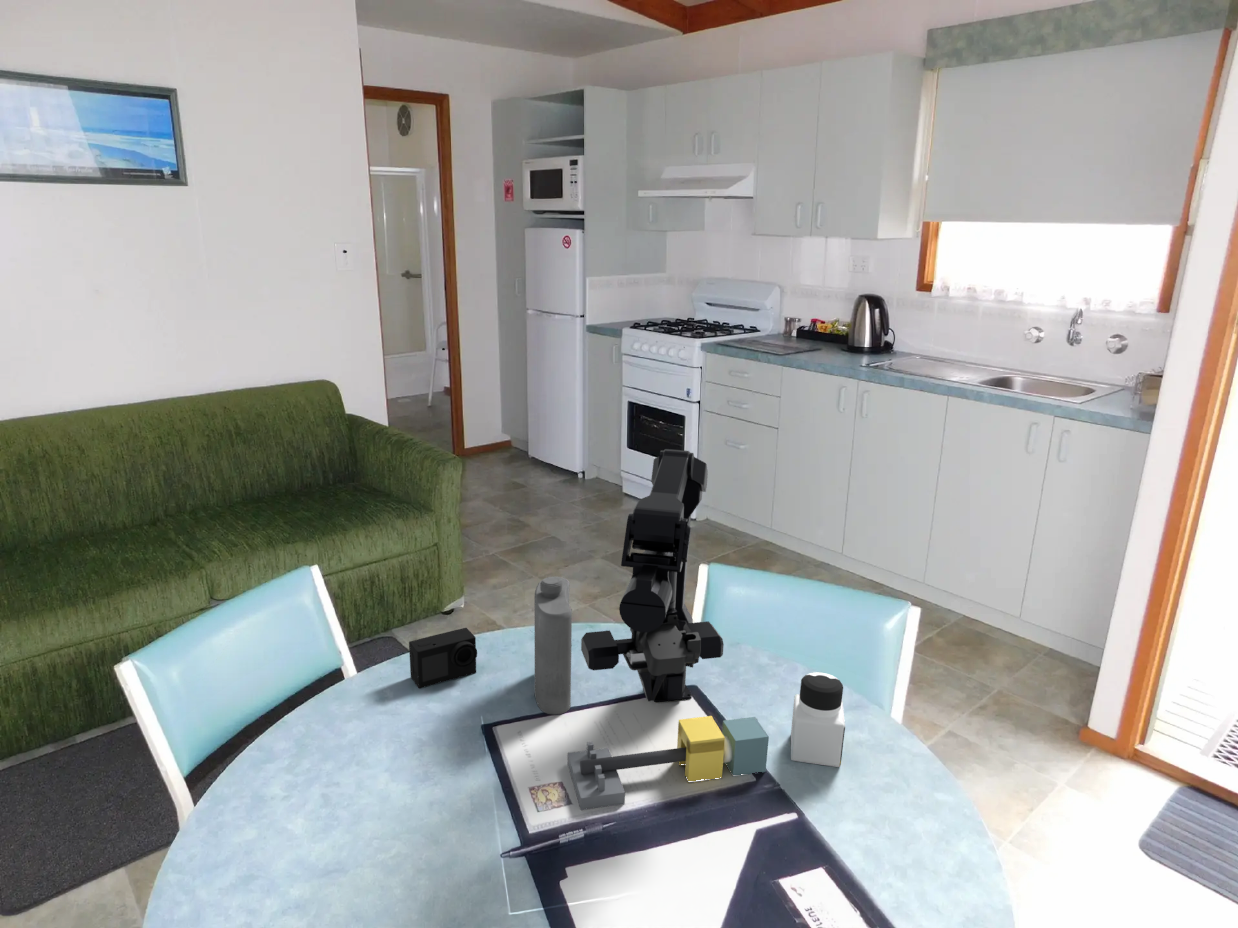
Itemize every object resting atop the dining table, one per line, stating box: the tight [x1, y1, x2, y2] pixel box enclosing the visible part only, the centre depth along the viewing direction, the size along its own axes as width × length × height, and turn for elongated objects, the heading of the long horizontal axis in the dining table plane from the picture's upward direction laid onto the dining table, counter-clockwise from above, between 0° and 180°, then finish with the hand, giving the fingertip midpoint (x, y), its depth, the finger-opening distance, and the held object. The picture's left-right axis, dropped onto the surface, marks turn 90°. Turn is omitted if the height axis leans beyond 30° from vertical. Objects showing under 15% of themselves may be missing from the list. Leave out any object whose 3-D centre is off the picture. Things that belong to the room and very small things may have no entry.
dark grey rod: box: [580, 716, 770, 776], centre depth 116 cm, size 26×5×6 cm, turn 104°
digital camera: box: [408, 627, 478, 689], centre depth 140 cm, size 10×5×7 cm, turn 123°
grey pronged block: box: [567, 741, 626, 811], centre depth 114 cm, size 10×6×4 cm, turn 14°
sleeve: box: [676, 715, 725, 781], centre depth 117 cm, size 5×5×7 cm
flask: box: [534, 576, 573, 716], centre depth 135 cm, size 15×6×20 cm, turn 5°
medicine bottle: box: [790, 671, 846, 768], centre depth 122 cm, size 7×7×12 cm
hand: (649, 699), depth 114 cm, fingers closed
